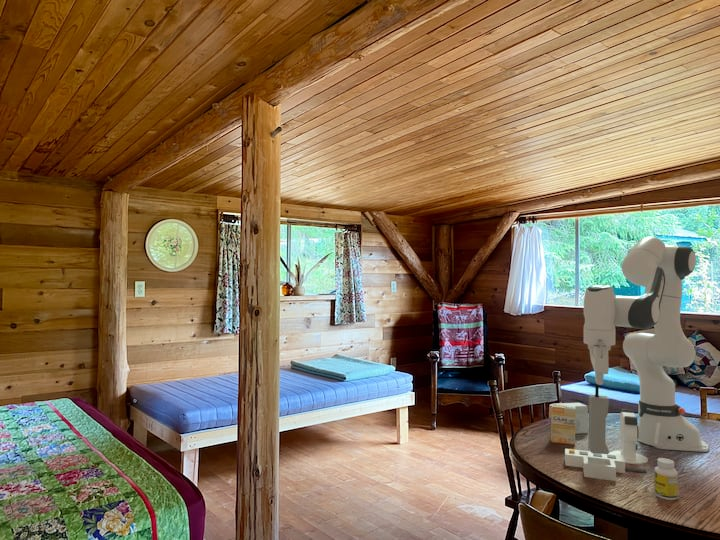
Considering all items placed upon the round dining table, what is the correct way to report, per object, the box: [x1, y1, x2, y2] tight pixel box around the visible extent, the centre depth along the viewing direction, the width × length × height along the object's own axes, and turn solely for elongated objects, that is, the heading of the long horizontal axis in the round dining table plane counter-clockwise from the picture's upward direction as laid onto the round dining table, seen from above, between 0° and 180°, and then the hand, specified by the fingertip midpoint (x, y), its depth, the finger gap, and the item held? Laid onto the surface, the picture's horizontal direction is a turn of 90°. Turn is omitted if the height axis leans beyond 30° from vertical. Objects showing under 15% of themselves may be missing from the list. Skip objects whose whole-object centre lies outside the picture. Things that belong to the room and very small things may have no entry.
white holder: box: [609, 408, 649, 465], centre depth 169 cm, size 12×11×15 cm
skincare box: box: [554, 402, 589, 435], centre depth 197 cm, size 10×6×10 cm, turn 98°
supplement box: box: [550, 403, 576, 446], centre depth 184 cm, size 8×5×13 cm, turn 68°
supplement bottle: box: [654, 457, 679, 501], centre depth 139 cm, size 5×5×10 cm
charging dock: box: [564, 448, 647, 482], centre depth 157 cm, size 23×14×4 cm, turn 68°
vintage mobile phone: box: [587, 382, 610, 454], centre depth 155 cm, size 4×5×25 cm
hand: (599, 383), depth 155 cm, fingers closed on vintage mobile phone
